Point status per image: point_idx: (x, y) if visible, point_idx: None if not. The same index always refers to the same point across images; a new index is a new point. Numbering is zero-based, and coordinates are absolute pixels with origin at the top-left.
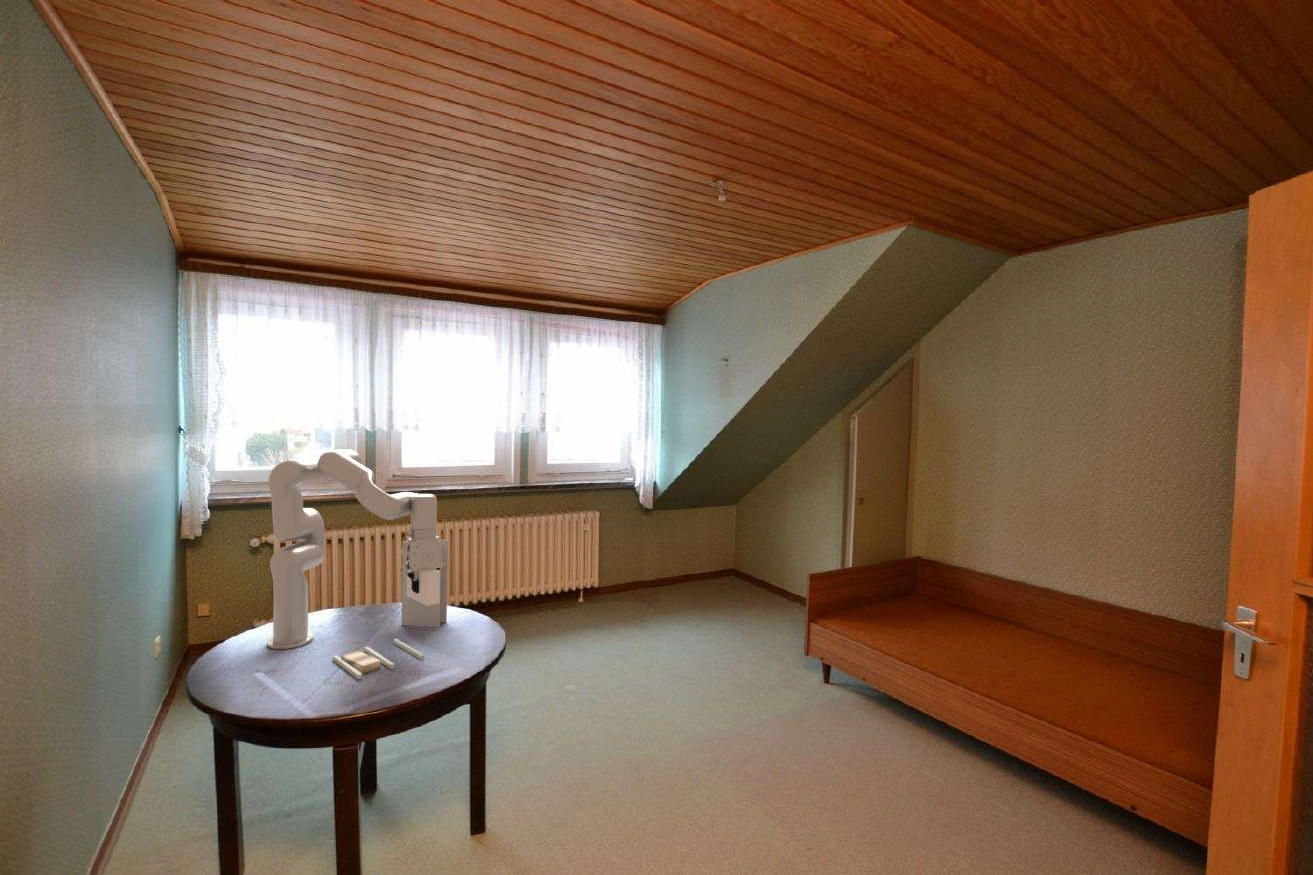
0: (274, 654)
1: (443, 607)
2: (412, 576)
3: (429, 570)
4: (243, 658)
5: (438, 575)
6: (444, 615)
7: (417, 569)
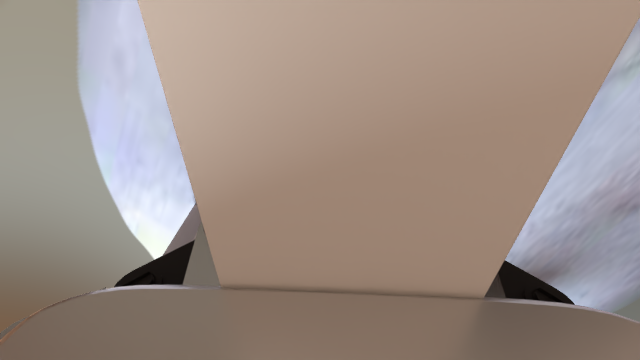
0: (549, 270)
1: (185, 237)
2: (499, 277)
3: (361, 216)
4: (588, 285)
5: None
6: (192, 219)
7: (593, 338)
